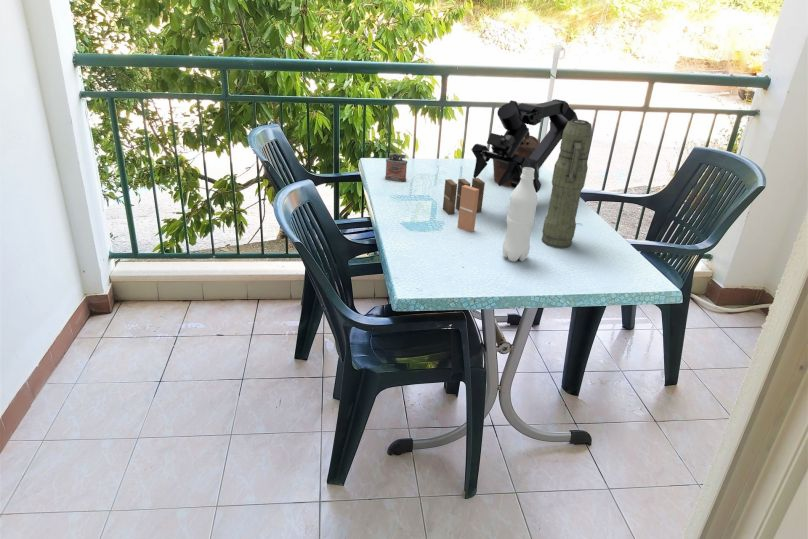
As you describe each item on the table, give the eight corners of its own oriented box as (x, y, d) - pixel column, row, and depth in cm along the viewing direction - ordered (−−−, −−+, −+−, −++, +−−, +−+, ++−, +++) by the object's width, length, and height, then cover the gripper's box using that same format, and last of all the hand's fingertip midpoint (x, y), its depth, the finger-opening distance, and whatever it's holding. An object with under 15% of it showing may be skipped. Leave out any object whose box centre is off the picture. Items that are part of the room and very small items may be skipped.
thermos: (567, 234, 170) (591, 117, 154) (575, 251, 160) (602, 127, 144) (538, 232, 170) (558, 115, 155) (544, 248, 160) (567, 125, 144)
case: (533, 175, 222) (540, 130, 214) (537, 192, 205) (544, 143, 196) (488, 172, 224) (493, 127, 216) (487, 188, 207) (493, 139, 198)
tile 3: (448, 208, 185) (451, 179, 180) (454, 214, 181) (457, 184, 176) (442, 209, 184) (445, 179, 180) (448, 214, 180) (451, 184, 175)
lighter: (383, 179, 208) (384, 153, 204) (386, 177, 211) (387, 150, 206) (404, 182, 206) (406, 156, 202) (407, 180, 209) (408, 153, 205)
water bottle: (509, 249, 158) (523, 163, 147) (532, 257, 154) (548, 169, 143) (496, 257, 153) (509, 168, 142) (519, 266, 149) (534, 175, 138)
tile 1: (474, 206, 188) (478, 177, 183) (481, 212, 184) (485, 182, 179) (469, 207, 187) (472, 178, 183) (475, 212, 183) (479, 183, 178)
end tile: (461, 225, 172) (465, 184, 166) (474, 230, 169) (479, 189, 163) (457, 227, 171) (461, 186, 165) (470, 232, 168) (475, 190, 162)
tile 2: (461, 207, 186) (464, 178, 182) (467, 213, 182) (470, 183, 177) (455, 208, 185) (458, 178, 181) (461, 213, 181) (464, 183, 177)
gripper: (478, 117, 171) (452, 158, 168) (531, 129, 160) (503, 174, 157) (490, 139, 180) (465, 179, 177) (541, 152, 168) (515, 194, 166)
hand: (486, 181), depth 169 cm, fingers open, 9 cm apart
